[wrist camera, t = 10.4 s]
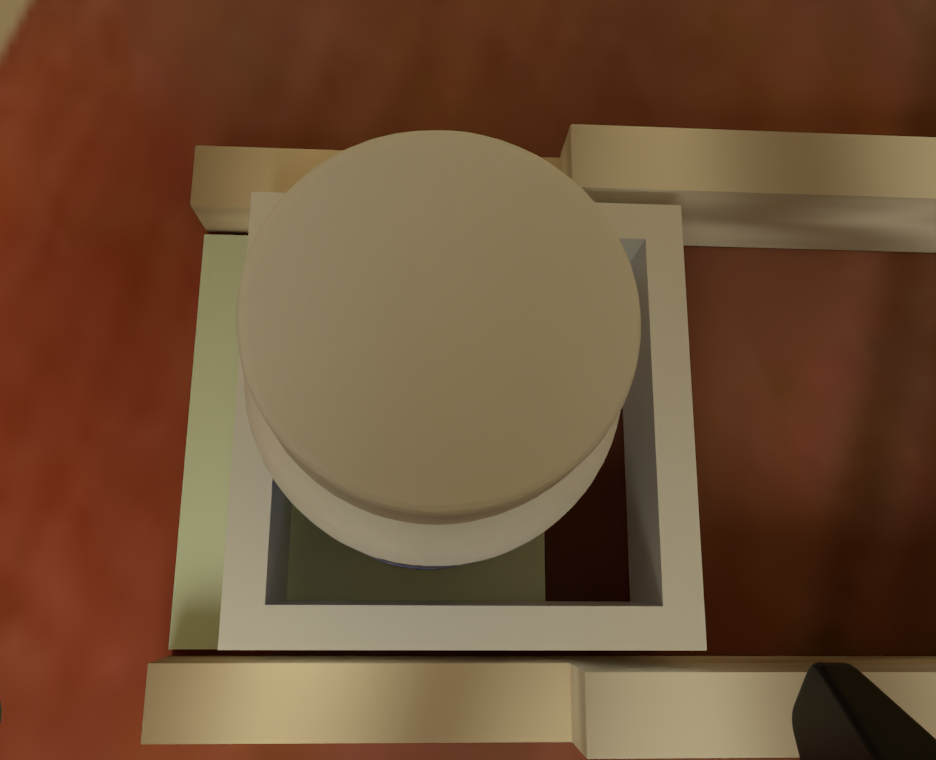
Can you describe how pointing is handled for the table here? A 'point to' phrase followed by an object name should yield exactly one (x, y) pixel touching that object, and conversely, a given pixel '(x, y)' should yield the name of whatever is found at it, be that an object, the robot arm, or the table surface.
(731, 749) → the oak channel
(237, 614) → the collar carriage
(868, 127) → the table surface
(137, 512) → the table surface
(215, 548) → the pad
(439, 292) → the pill bottle
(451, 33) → the table surface
